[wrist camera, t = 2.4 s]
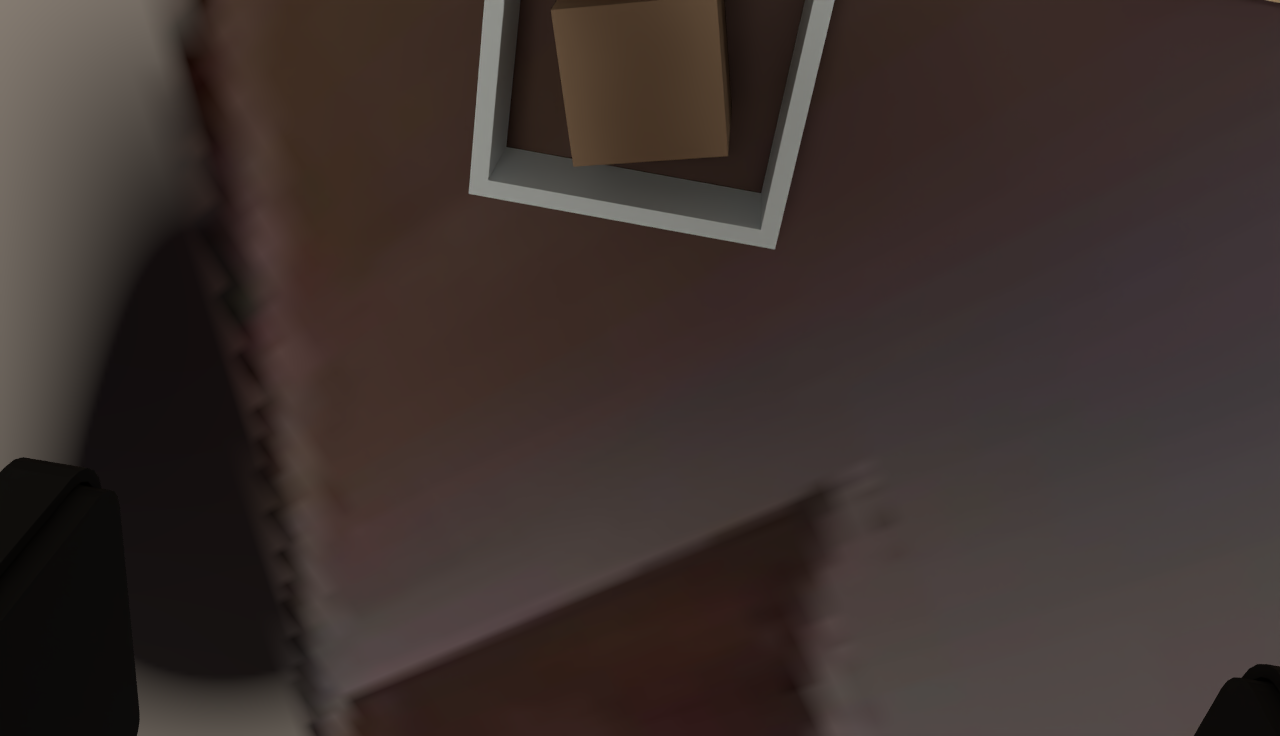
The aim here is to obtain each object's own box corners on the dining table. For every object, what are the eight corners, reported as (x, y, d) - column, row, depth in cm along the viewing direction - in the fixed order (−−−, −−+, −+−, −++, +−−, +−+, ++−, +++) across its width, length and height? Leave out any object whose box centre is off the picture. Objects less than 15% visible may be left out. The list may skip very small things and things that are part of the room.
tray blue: (845, -93, 29) (852, -75, 27) (774, 211, 34) (774, 249, 32) (516, -153, 29) (495, -140, 27) (488, 159, 34) (468, 193, 32)
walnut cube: (721, -41, 31) (716, -5, 27) (731, 105, 33) (728, 155, 29) (573, -27, 31) (550, 9, 28) (592, 116, 33) (573, 166, 30)
